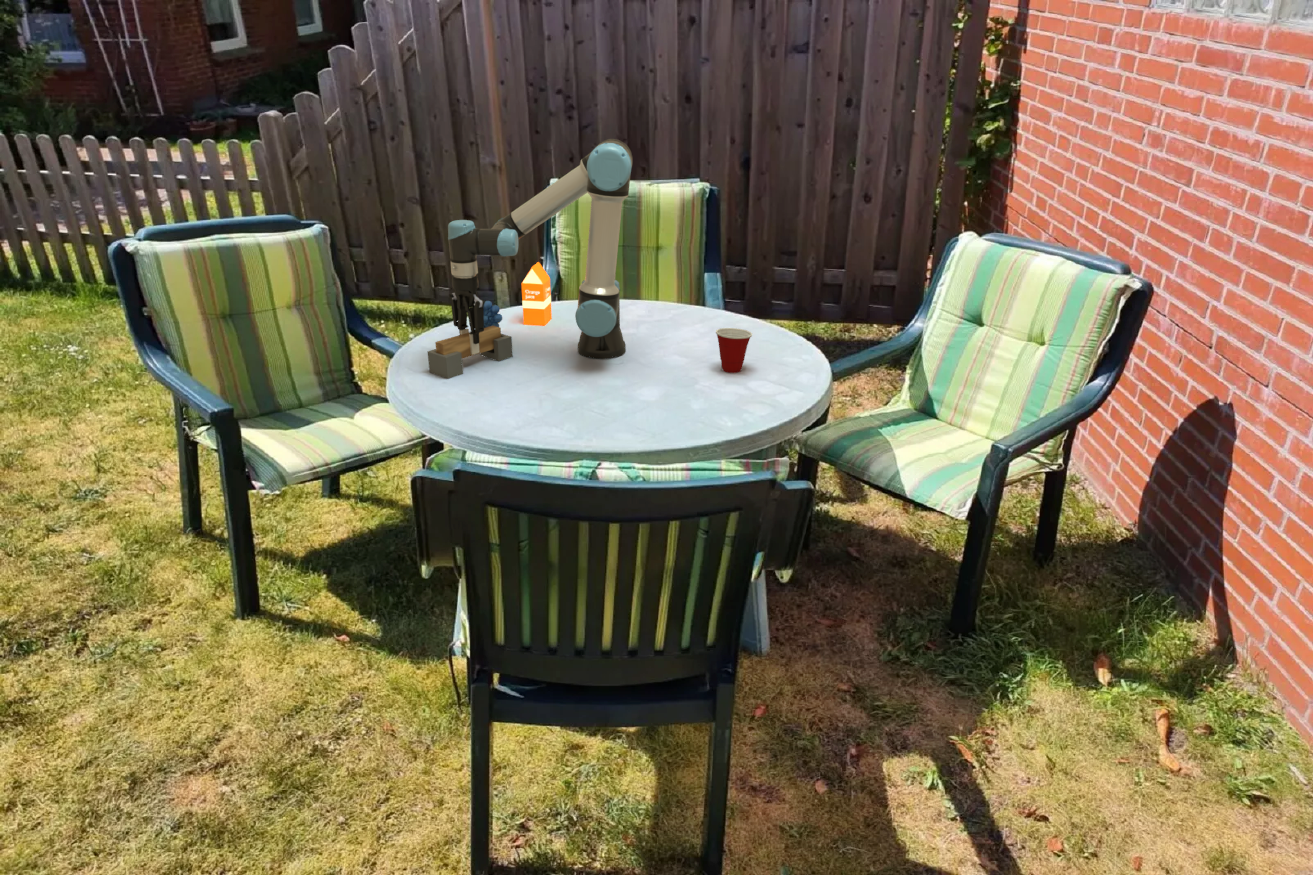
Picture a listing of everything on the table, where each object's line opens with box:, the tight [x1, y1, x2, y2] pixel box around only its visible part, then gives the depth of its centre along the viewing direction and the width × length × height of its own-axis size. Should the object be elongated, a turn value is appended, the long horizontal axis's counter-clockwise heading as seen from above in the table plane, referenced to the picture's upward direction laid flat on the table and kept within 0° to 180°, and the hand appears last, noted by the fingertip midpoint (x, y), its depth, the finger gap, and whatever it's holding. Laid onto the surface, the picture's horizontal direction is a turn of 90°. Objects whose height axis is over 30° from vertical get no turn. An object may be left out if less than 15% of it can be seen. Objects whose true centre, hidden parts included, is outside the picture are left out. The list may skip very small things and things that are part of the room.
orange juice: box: [521, 261, 553, 327], centre depth 307 cm, size 8×9×20 cm
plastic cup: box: [715, 327, 753, 374], centre depth 266 cm, size 11×11×12 cm
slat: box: [434, 326, 502, 360], centre depth 269 cm, size 4×22×6 cm, turn 141°
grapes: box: [468, 300, 503, 328], centre depth 295 cm, size 12×7×12 cm, turn 78°
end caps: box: [427, 333, 514, 380], centre depth 270 cm, size 8×25×6 cm, turn 141°
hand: (470, 351), depth 270 cm, fingers closed on slat, 3 cm apart
